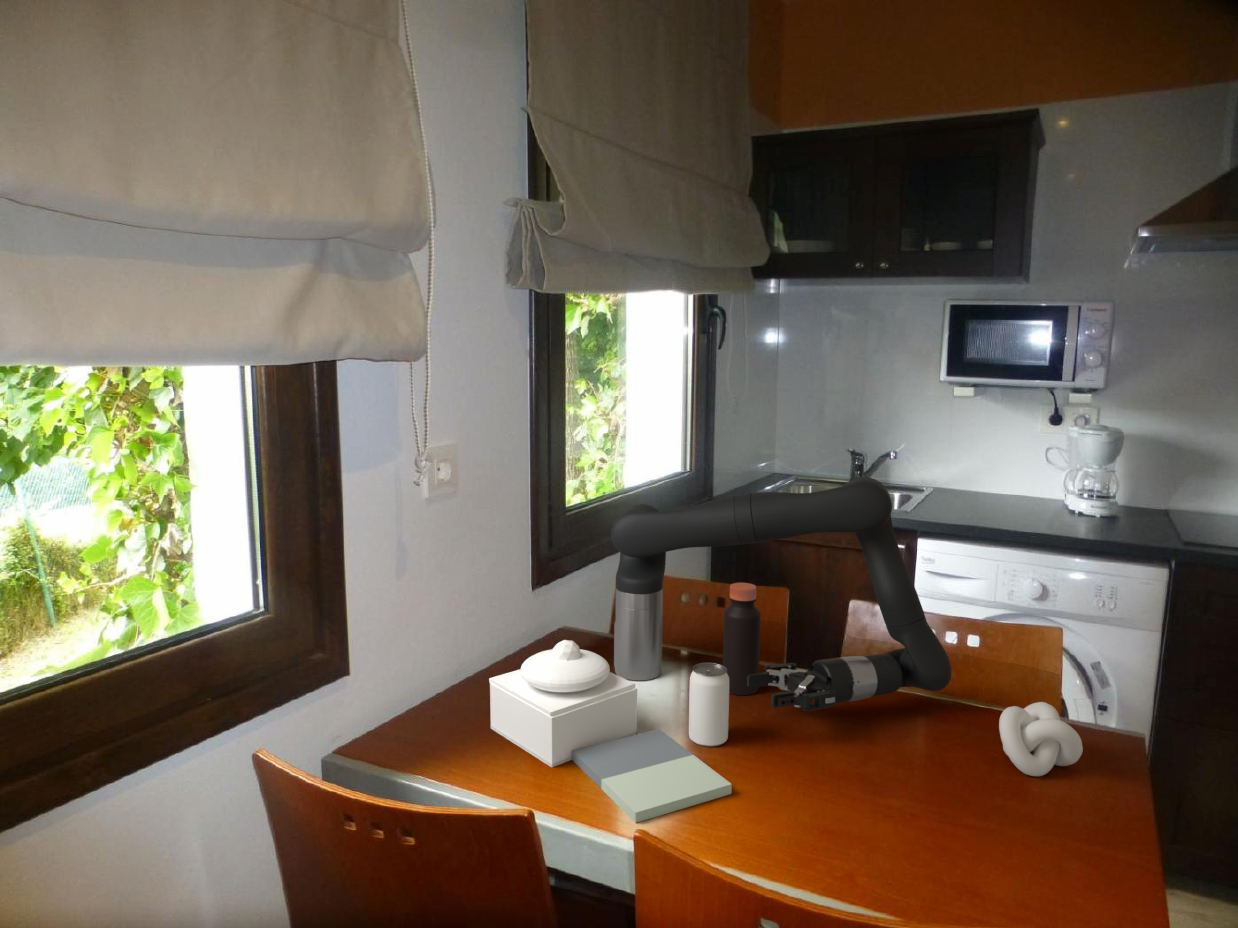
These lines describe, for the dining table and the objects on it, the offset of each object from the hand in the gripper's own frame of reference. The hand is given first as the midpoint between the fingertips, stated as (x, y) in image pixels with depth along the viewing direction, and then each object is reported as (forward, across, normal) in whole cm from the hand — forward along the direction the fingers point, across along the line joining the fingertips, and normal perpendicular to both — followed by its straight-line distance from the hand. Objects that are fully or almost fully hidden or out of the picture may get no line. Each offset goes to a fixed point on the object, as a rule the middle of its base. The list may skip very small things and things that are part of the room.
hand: (759, 690), depth 142 cm
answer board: (+23, +8, +7) cm, 26 cm away
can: (+9, 0, +7) cm, 12 cm away
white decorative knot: (-34, +24, +7) cm, 42 cm away
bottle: (-5, -17, +7) cm, 19 cm away
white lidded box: (+31, -10, +8) cm, 34 cm away
